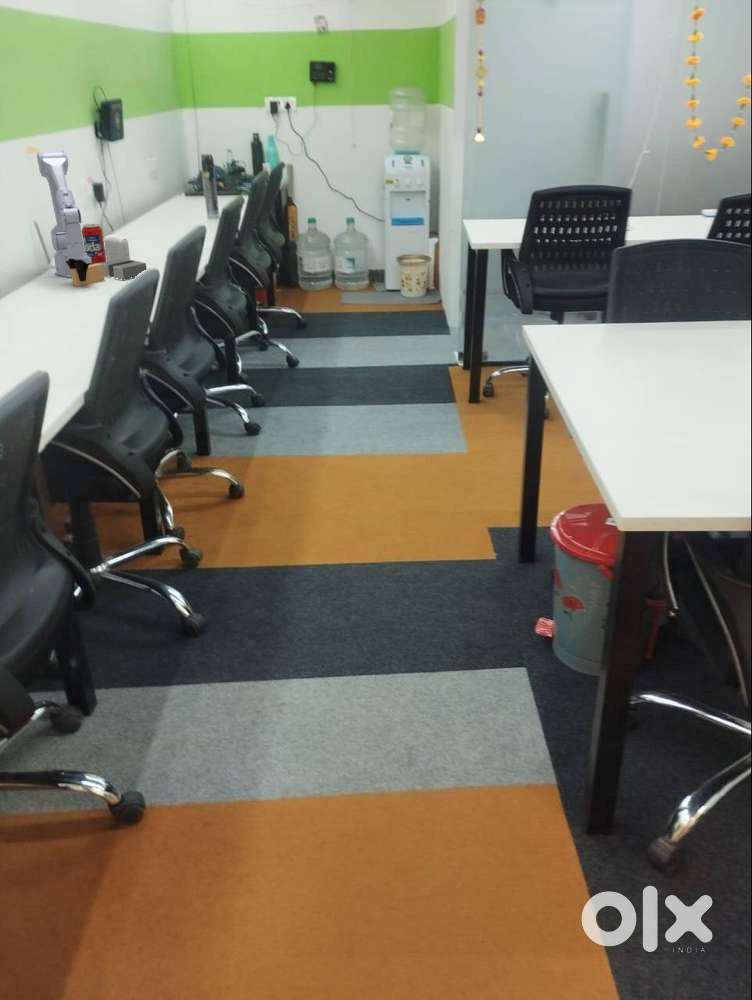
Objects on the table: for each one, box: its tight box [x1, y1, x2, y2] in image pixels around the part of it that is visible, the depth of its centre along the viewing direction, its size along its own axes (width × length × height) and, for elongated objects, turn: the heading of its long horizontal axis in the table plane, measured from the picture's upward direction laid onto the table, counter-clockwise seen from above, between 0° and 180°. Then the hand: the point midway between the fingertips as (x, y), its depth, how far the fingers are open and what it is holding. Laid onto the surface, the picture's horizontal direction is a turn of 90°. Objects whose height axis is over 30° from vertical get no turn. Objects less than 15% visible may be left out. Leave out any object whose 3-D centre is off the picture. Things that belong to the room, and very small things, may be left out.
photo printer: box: [104, 234, 131, 262], centre depth 334 cm, size 10×4×12 cm, turn 61°
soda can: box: [81, 223, 107, 265], centre depth 338 cm, size 8×8×15 cm
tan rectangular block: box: [71, 263, 106, 287], centre depth 312 cm, size 2×12×6 cm, turn 142°
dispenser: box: [99, 258, 148, 281], centre depth 323 cm, size 14×12×4 cm
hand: (80, 280), depth 310 cm, fingers closed on tan rectangular block, 2 cm apart
